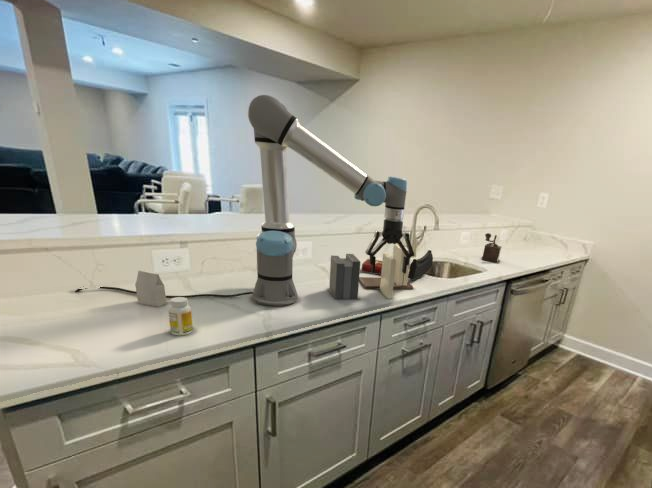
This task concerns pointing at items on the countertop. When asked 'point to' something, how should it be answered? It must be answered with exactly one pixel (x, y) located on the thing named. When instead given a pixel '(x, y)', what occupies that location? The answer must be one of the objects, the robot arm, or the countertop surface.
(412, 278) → the magazine
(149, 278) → the grey stone
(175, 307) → the supplement bottle
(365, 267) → the hardcover book
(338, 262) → the grey books
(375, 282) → the shelf board
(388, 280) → the white book
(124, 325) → the countertop surface
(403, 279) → the white books
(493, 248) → the manual coffee grinder
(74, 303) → the countertop surface
